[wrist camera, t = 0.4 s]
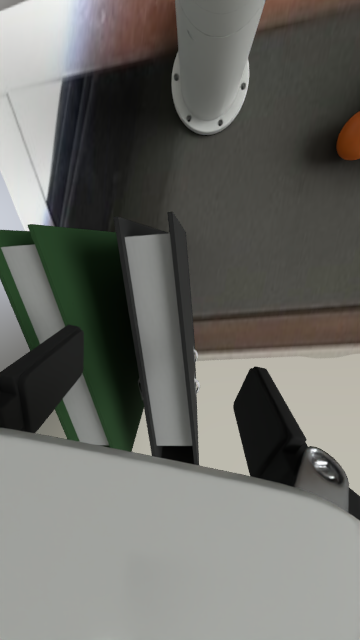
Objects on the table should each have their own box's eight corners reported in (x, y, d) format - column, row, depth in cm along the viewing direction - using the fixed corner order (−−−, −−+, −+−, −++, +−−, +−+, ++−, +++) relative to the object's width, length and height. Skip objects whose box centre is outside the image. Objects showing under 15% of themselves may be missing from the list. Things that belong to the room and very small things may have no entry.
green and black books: (125, 237, 42) (-32, 229, 12) (192, 231, 40) (196, 209, 11) (143, 343, 52) (83, 476, 23) (197, 341, 51) (205, 478, 22)
